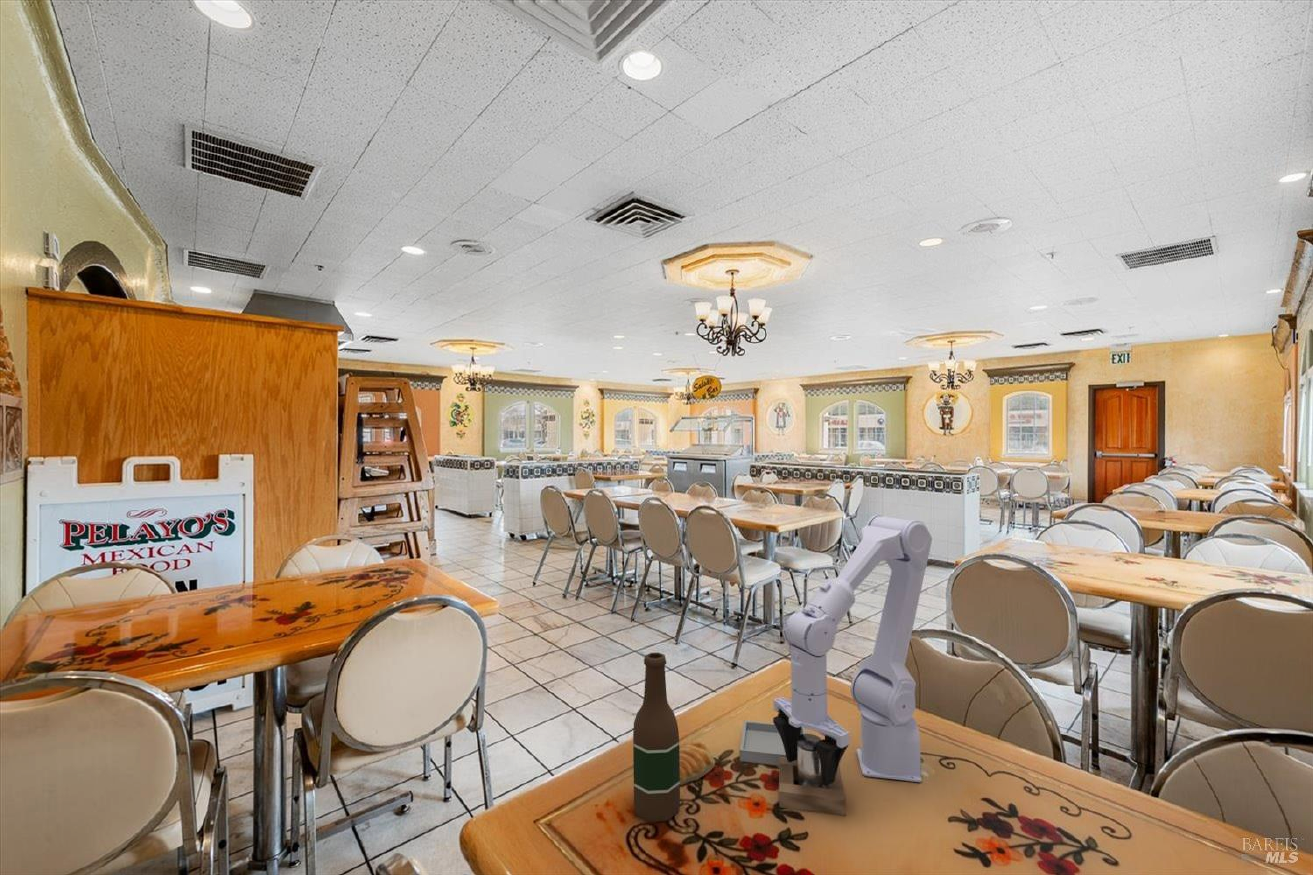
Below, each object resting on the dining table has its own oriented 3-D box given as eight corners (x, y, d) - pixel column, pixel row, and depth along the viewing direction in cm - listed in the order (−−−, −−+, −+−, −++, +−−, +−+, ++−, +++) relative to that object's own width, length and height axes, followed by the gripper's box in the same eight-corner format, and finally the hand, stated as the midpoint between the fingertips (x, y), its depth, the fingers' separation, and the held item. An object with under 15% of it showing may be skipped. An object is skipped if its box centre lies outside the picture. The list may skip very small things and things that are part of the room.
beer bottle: (686, 797, 90) (685, 649, 90) (672, 828, 82) (671, 667, 83) (642, 788, 92) (640, 644, 92) (624, 817, 85) (623, 661, 85)
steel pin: (822, 785, 92) (821, 734, 92) (823, 801, 88) (823, 747, 88) (797, 782, 93) (796, 732, 93) (798, 797, 89) (797, 744, 89)
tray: (805, 736, 108) (805, 726, 108) (808, 768, 97) (808, 757, 97) (743, 730, 110) (743, 720, 110) (739, 761, 100) (739, 749, 100)
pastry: (686, 793, 91) (686, 770, 91) (655, 778, 95) (654, 756, 95) (717, 767, 98) (717, 746, 98) (687, 754, 102) (687, 734, 102)
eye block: (838, 777, 94) (838, 762, 94) (845, 815, 85) (845, 799, 85) (779, 770, 97) (779, 756, 97) (779, 807, 87) (779, 791, 87)
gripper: (760, 678, 95) (761, 757, 95) (827, 712, 83) (828, 803, 82) (789, 668, 99) (790, 745, 98) (857, 700, 86) (859, 787, 86)
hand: (810, 770), depth 91 cm, fingers open, 7 cm apart
